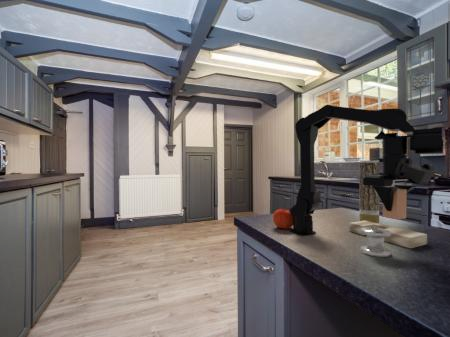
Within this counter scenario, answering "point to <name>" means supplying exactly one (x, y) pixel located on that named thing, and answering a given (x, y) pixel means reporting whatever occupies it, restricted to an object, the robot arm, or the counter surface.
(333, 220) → the counter surface
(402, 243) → the notched board
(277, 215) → the apple
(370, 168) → the paper tube
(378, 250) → the bobbin
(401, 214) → the tab block
